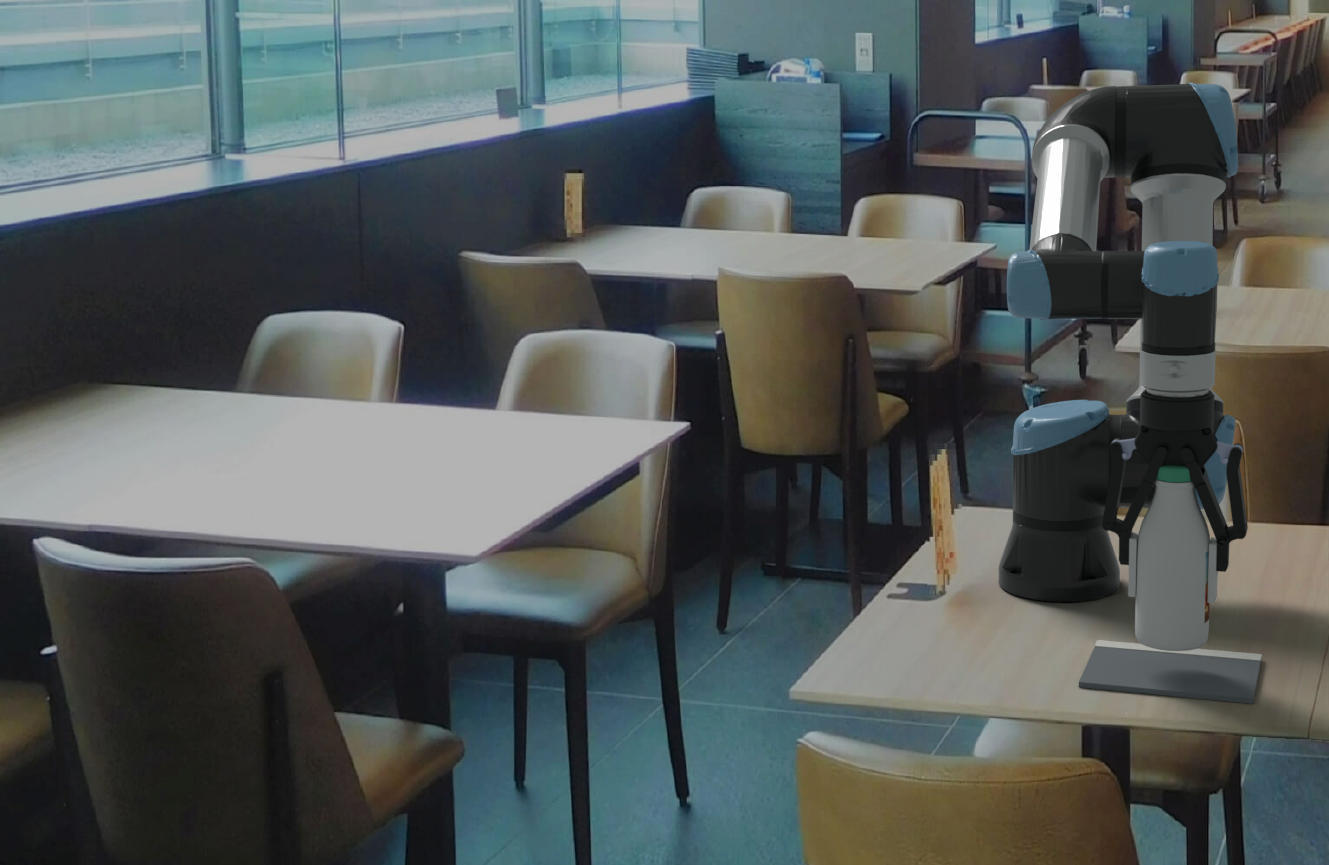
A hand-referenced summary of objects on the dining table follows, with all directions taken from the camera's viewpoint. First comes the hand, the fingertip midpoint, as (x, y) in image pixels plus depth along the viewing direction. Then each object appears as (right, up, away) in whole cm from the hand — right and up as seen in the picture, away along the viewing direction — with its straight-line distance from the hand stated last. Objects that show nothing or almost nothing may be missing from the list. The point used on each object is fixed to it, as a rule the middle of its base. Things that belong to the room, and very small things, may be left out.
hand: (1172, 595), depth 193 cm
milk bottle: (0, -5, +1) cm, 5 cm away
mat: (+1, -9, +3) cm, 9 cm away
